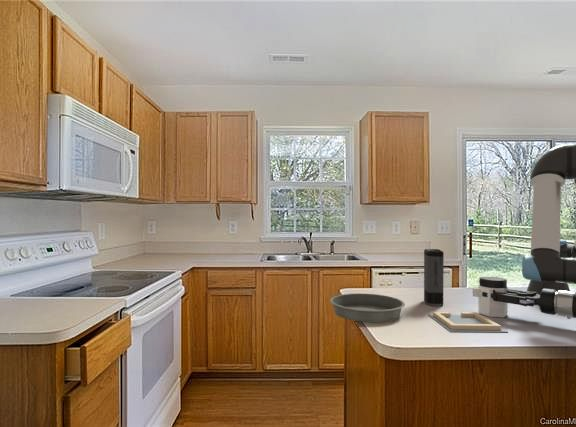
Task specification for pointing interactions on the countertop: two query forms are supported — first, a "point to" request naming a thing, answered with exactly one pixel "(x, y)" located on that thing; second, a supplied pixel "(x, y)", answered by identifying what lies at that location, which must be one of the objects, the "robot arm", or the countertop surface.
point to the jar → (486, 303)
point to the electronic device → (433, 277)
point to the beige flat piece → (467, 322)
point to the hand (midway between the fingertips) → (475, 291)
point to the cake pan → (367, 307)
